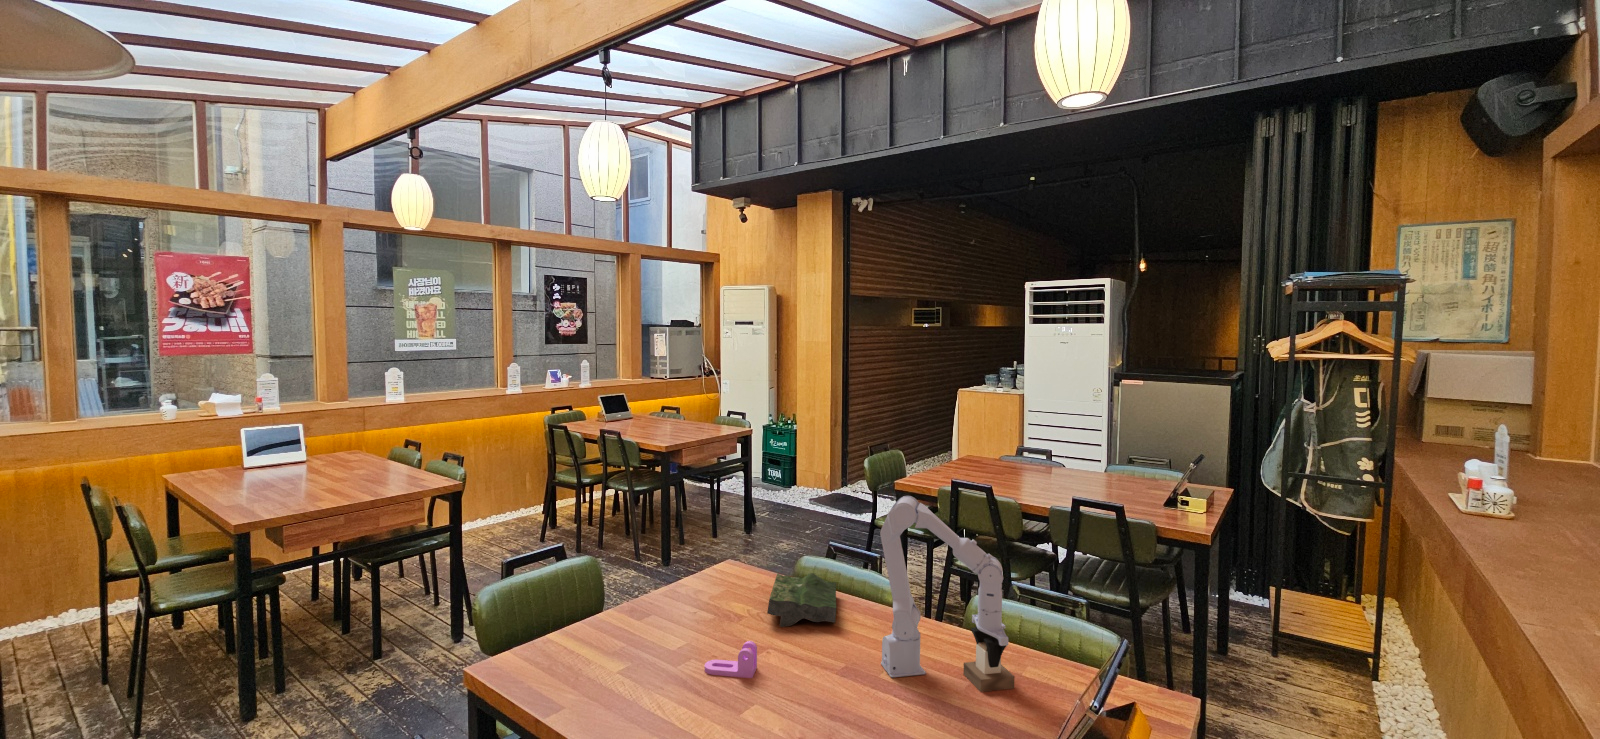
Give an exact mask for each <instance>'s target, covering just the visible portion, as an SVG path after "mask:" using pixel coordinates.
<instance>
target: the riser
mask: <svg viewBox="0 0 1600 739" xmlns="http://www.w3.org/2000/svg"><path fill="white" fill-rule="evenodd" d="M962 671H963V673H962V674H963V676H965V678H966V679H967V680H969V682H971V684H972V685H973V686H974V687H975V688H976V689H977V690H978V691H979V692H980V693H984V692H992V690H995V691H1002V690H1003V689H1004V690H1012V689H1013V690H1014V689H1015V678H1016V676H1015V675H1014V674H1013V673H1012V672H1010V671H1009V670H1008V669H1007V668H1006V667H1005V666H1004V665H1003V664H1001V673H993V674H984V673H983V672H982V671H980V670H979V669H978V668H977V667H976V660H975V661H967V662H963V670H962Z"/></svg>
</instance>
